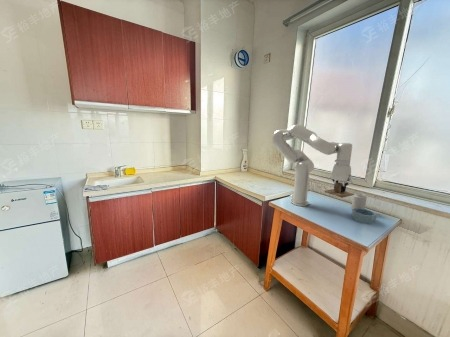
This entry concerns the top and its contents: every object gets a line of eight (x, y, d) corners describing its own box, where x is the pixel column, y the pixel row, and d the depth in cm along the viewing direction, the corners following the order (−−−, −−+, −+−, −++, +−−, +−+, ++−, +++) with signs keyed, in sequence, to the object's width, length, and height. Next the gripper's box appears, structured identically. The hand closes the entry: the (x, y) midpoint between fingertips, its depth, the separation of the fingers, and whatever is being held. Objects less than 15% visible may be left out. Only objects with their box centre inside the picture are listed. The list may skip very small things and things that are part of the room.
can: (348, 209, 131) (351, 192, 129) (354, 207, 135) (357, 191, 132) (360, 213, 125) (363, 196, 122) (366, 211, 128) (369, 194, 126)
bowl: (348, 217, 119) (349, 209, 118) (359, 214, 124) (360, 207, 123) (367, 225, 110) (368, 217, 109) (378, 221, 114) (379, 214, 113)
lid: (324, 191, 125) (325, 182, 124) (336, 189, 130) (337, 180, 129) (341, 197, 115) (343, 187, 113) (354, 194, 120) (355, 184, 118)
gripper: (326, 161, 124) (324, 187, 128) (352, 165, 109) (348, 195, 113) (334, 160, 127) (331, 186, 131) (360, 164, 113) (356, 193, 116)
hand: (339, 190), depth 122 cm, fingers closed on lid, 4 cm apart
